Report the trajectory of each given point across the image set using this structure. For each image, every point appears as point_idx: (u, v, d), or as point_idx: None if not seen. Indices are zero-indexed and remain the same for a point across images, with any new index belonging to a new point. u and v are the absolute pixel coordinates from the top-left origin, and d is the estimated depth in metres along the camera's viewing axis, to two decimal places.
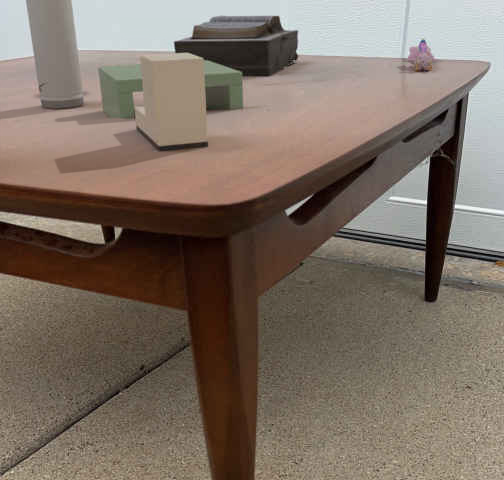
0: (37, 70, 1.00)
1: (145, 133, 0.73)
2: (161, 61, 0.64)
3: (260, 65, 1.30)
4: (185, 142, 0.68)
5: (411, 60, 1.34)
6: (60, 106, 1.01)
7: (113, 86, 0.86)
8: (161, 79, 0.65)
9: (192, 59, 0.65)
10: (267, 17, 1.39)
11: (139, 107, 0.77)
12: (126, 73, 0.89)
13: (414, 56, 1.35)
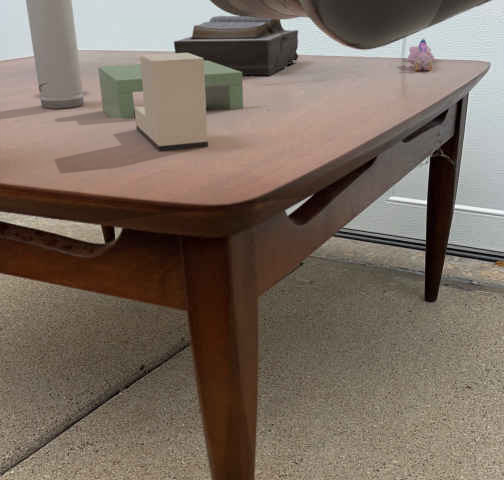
0: (37, 70, 1.00)
1: (145, 133, 0.73)
2: (161, 61, 0.64)
3: (260, 65, 1.30)
4: (185, 142, 0.68)
5: (411, 60, 1.34)
6: (60, 106, 1.01)
7: (113, 86, 0.86)
8: (161, 79, 0.65)
9: (192, 59, 0.65)
10: None
11: (139, 107, 0.77)
12: (126, 73, 0.89)
13: (414, 56, 1.35)
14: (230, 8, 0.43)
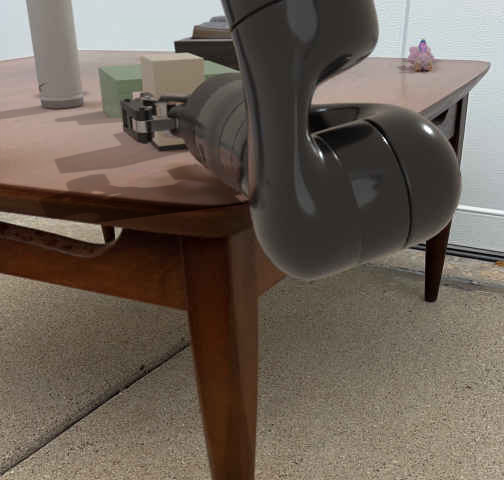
0: (37, 70, 1.00)
1: None
2: (161, 61, 0.64)
3: None
4: None
5: (411, 60, 1.34)
6: (60, 106, 1.01)
7: (113, 86, 0.86)
8: (161, 79, 0.65)
9: (192, 59, 0.65)
10: None
11: None
12: (126, 73, 0.89)
13: (414, 56, 1.35)
14: None
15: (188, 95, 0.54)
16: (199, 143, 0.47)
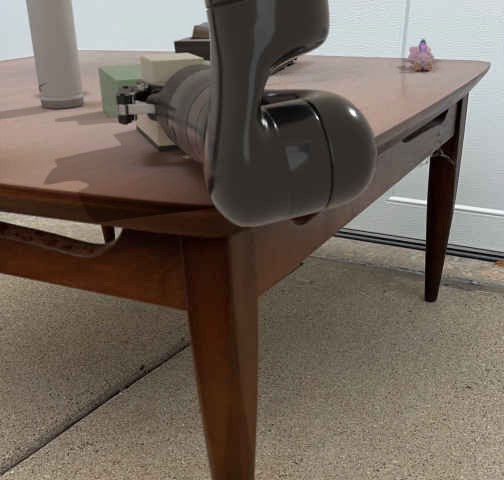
0: (37, 70, 1.00)
1: (145, 133, 0.73)
2: (161, 61, 0.64)
3: None
4: None
5: (411, 60, 1.34)
6: (60, 106, 1.01)
7: (113, 86, 0.86)
8: (161, 79, 0.65)
9: (192, 59, 0.65)
10: None
11: None
12: (126, 73, 0.89)
13: (414, 56, 1.35)
14: None
15: (165, 84, 0.62)
16: (171, 124, 0.55)
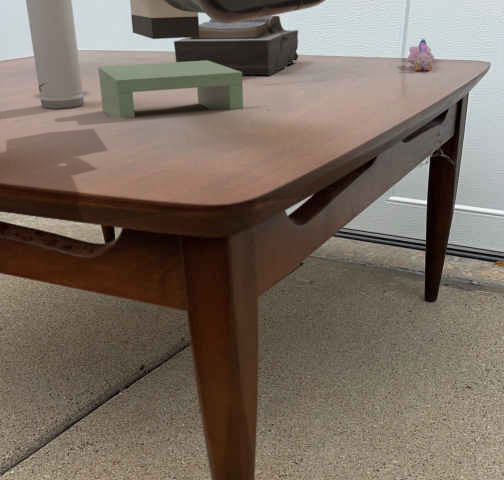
0: (37, 70, 1.00)
1: (139, 15, 0.76)
2: None
3: (260, 65, 1.30)
4: (176, 15, 0.71)
5: (411, 60, 1.34)
6: (60, 106, 1.01)
7: (113, 86, 0.86)
8: None
9: None
10: (267, 17, 1.39)
11: None
12: (126, 73, 0.89)
13: (414, 56, 1.35)
14: (176, 5, 0.62)
15: None
16: None
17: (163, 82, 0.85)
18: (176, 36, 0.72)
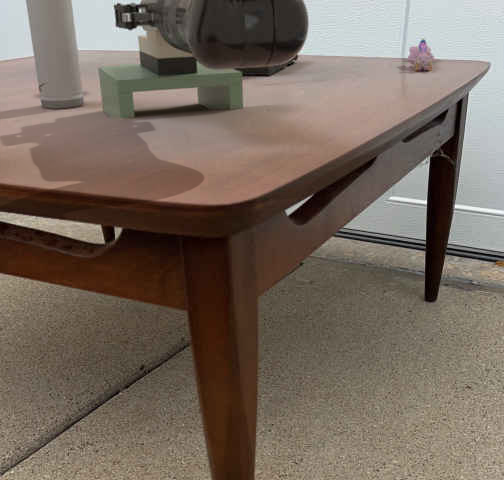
0: (37, 70, 1.00)
1: (146, 53, 0.91)
2: None
3: None
4: (178, 56, 0.86)
5: (411, 60, 1.34)
6: (60, 106, 1.01)
7: (113, 86, 0.86)
8: None
9: None
10: None
11: (142, 35, 0.94)
12: (126, 73, 0.89)
13: (414, 56, 1.35)
14: (177, 48, 0.76)
15: None
16: (164, 21, 0.73)
17: (163, 82, 0.85)
18: (178, 73, 0.87)
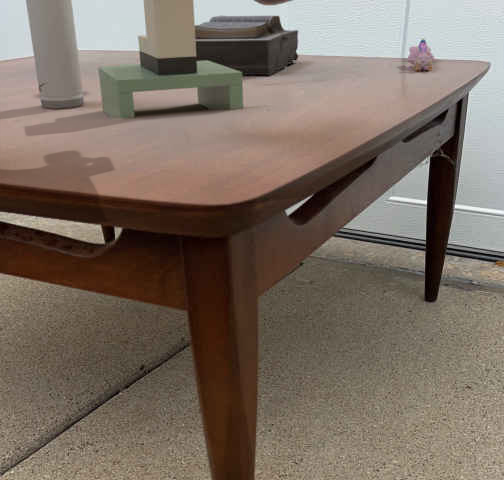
0: (37, 70, 1.00)
1: (146, 53, 0.91)
2: None
3: (260, 65, 1.30)
4: (178, 56, 0.86)
5: (411, 60, 1.34)
6: (60, 106, 1.01)
7: (113, 86, 0.86)
8: (159, 3, 0.83)
9: None
10: (267, 17, 1.39)
11: (142, 35, 0.94)
12: (126, 73, 0.89)
13: (414, 56, 1.35)
14: None
15: None
16: None
17: (163, 82, 0.85)
18: (178, 73, 0.87)
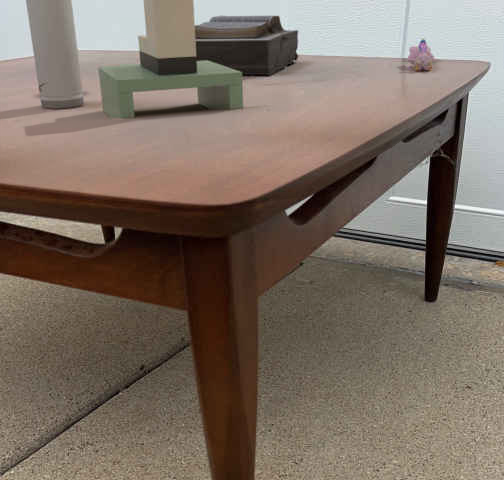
0: (37, 70, 1.00)
1: (146, 53, 0.91)
2: None
3: (260, 65, 1.30)
4: (178, 56, 0.86)
5: (411, 60, 1.34)
6: (60, 106, 1.01)
7: (113, 86, 0.86)
8: (159, 3, 0.83)
9: None
10: (267, 17, 1.39)
11: (142, 35, 0.94)
12: (126, 73, 0.89)
13: (414, 56, 1.35)
14: None
15: None
16: None
17: (163, 82, 0.85)
18: (178, 73, 0.87)
